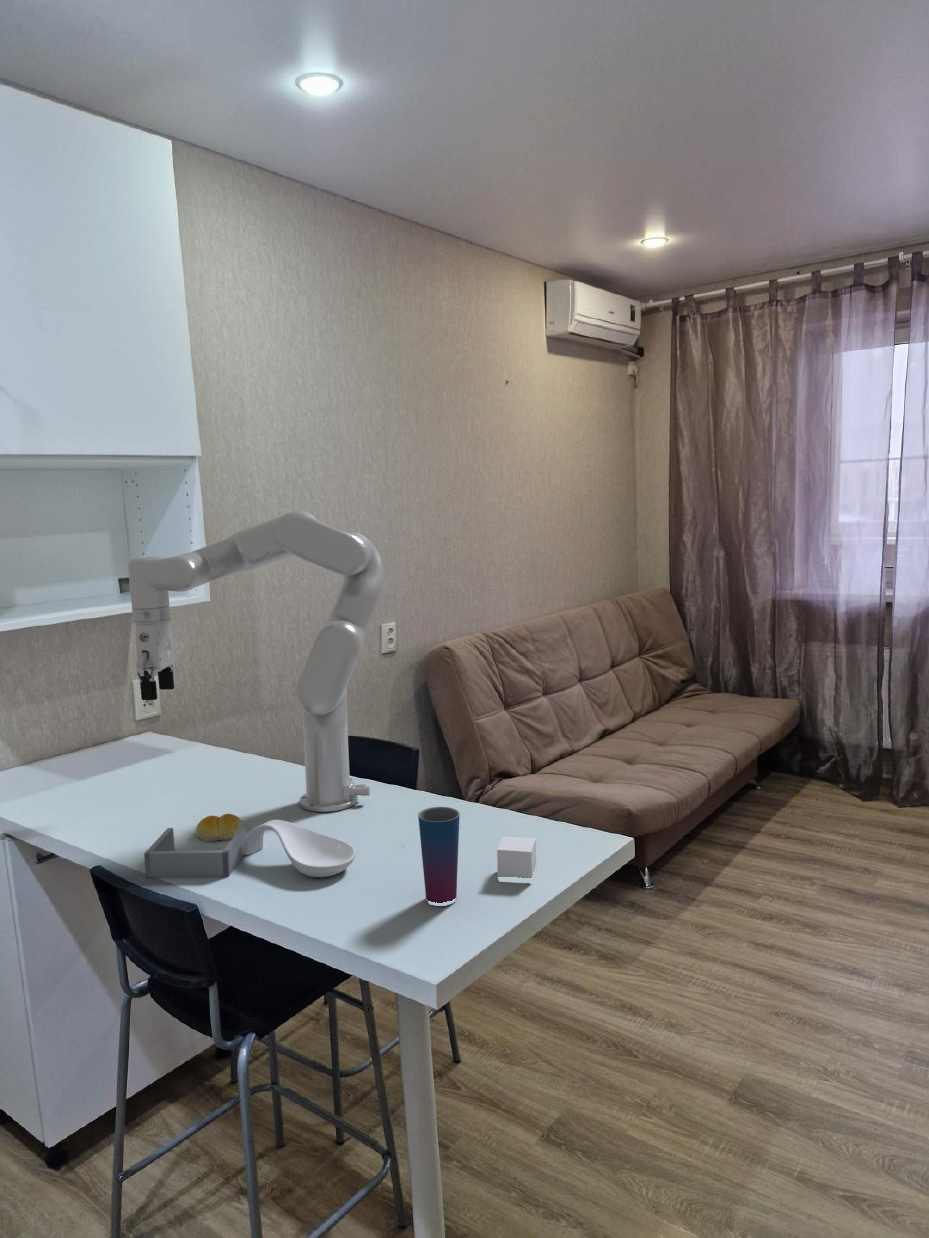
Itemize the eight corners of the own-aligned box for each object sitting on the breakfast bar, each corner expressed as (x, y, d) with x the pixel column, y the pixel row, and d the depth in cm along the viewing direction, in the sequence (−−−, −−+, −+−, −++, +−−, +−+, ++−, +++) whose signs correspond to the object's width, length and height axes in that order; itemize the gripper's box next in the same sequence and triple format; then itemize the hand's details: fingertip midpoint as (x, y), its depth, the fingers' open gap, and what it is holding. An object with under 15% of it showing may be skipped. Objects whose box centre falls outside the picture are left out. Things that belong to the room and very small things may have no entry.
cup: (461, 890, 150) (459, 805, 147) (462, 908, 143) (460, 821, 141) (421, 891, 149) (418, 807, 147) (420, 910, 143) (417, 822, 140)
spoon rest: (369, 865, 161) (367, 828, 160) (328, 891, 151) (326, 852, 150) (272, 842, 173) (270, 807, 172) (228, 864, 163) (225, 827, 162)
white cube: (536, 870, 157) (536, 838, 156) (531, 884, 151) (531, 851, 150) (503, 867, 158) (502, 836, 157) (497, 882, 152) (497, 849, 152)
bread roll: (200, 828, 180) (198, 810, 180) (244, 826, 181) (243, 807, 181) (192, 844, 172) (191, 825, 172) (239, 841, 173) (238, 822, 173)
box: (246, 849, 169) (245, 826, 168) (229, 876, 157) (227, 852, 156) (169, 850, 169) (167, 827, 168) (146, 877, 157) (144, 853, 157)
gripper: (153, 621, 177) (160, 703, 179) (183, 609, 194) (189, 684, 196) (116, 622, 177) (124, 704, 179) (149, 610, 194) (156, 685, 197)
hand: (158, 694), depth 188 cm, fingers open, 9 cm apart
